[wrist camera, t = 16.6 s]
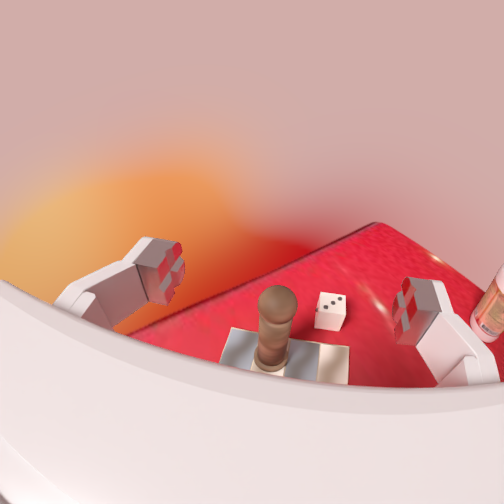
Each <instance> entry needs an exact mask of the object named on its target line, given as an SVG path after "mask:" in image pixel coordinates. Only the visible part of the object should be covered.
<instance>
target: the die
mask: <svg viewBox="0 0 504 504" xmlns="http://www.w3.org/2000/svg"><path fill="white" fill-rule="evenodd" d="M345 316H346V295H339V294H332V293H325V292H321V293H320V296H319V300H318V304H317V308H316V316H315V326H314V328H318V329H325V330H333V331H340V328H341V326H342V323H343V321H344V318H345Z"/></svg>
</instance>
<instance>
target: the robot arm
mask: <svg viewBox="0 0 504 504" xmlns="http://www.w3.org/2000/svg"><path fill="white" fill-rule="evenodd" d="M181 253H182V247H181V244H180V243H179V242H175V241H169V240H163V239H158V238H151V237H142V238H141V239H140V240H139V241H138V243H137V244H136V245H135V246H134V247H133V248H132V250H131V251H130V252H129V253H128V254H127V255H126V256H125V257H124V259H123V260H122V261H116V262H114V263H112V264H110V265H108V266H106V267H103V268H102V269H99V270H97V271H95V272H93V273H91V274H89V275H87V276H85V277H83V278H81V279H79V280H77V281H75V282H73V283H71V284H69V285H68V286H67V287H66V289H65V290H64V291H63V292H62V293H61V295H60V296H59V297H58V298H57V299H56V301H55V302H54V303H53V304H52V305H51V304H49V303H47V302H44V301H42V300H40V299H38V298H37V297H35V296H32V295H31V294H29V293H27V292H25V291H23V290H21V289H19V288H18V287H16V286H14V285H12V284H11V283H9V282H7V281H5V280H0V504H504V382H500V378H499V374H498V369H497V365H496V362H495V358H494V355H493V354H492V352H491V351H490V350H489V349H488V348H487V346H486V345H485V344H484V343H483V342H482V341H481V340H480V338H479V337H478V336H477V335H476V334H475V333H474V332H473V331H472V329H471V328H470V327H469V326H468V325H467V324H466V323H465V322H464V321H463V320H462V319H461V318H460V317H459V315H458V314H454V312H453V309H452V306H451V303H450V300H449V297H448V294H447V292H446V289H445V286H444V284H443V282H441V281H437V280H426V279H419V278H412V277H406V278H405V279H404V280H403V282H402V284H401V287H402V291H400V292H399V293H398V294H397V295H396V297H395V299H394V302H393V307H392V317H393V320H394V321H395V322H396V323H397V325H396V327H395V328H394V331H395V339H396V344H404V345H414V346H416V348H417V350H418V351H419V353H420V354H421V356H422V358H423V359H424V361H425V363H426V364H427V366H428V367H429V369H430V371H431V372H432V374H433V376H434V378H435V379H436V381H437V383H438V385H437V386H436V387H434V388H394V387H371V386H357V385H345V384H335V383H325V382H317V381H309V380H302V379H295V378H289V377H283V376H277V375H271V374H266V373H260V372H255V371H250V370H245V369H241V368H236V367H232V366H227V365H223V364H219V363H215V362H211V361H207V360H203V359H199V358H195V357H192V356H188V355H184V354H181V353H177V352H174V351H171V350H167V349H164V348H161V347H158V346H154V345H151V344H148V343H145V342H142V341H139V340H136V339H134V338H131V337H128V336H125V335H122V334H120V333H117V332H115V331H114V330H113V328H112V327H113V326H115V325H117V324H118V323H119V322H121V321H122V320H124V319H125V318H127V317H128V316H129V315H131V314H132V313H134V312H135V311H137V310H138V309H139V308H141V307H142V306H144V305H145V304H147V303H148V301H149V302H153V303H158V304H162V305H168V304H169V303H170V301H171V299H172V297H173V295H174V294H175V292H174V288H175V287H177V286H179V285H180V283H181V282H182V280H183V277H184V274H185V263H184V260H183V259H182V258H181V257H180V255H181Z"/></svg>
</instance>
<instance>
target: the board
mask: <svg viewBox="0 0 504 504" xmlns="http://www.w3.org/2000/svg"><path fill="white" fill-rule="evenodd" d="M258 335H259V333H258V332H253V331H248V330H243V329H238V328H233V327H232V328H231V331H230V334H229V336H228V339H227V342H226V345H225V348H224V350H223V353H222V356H221V359H220V361H219V364H223V365H227V366H232V367H236V368H241V369H245V370H250V371H255V372H260V373H266V374H271V375H277V376H283V377H289V378H295V379H302V380H309V381H317V382H325V383H335V384H345V385H348V371H349V346H341V345H333V344H326V343H319V342H312V341H305V340H299V339H292V338H289V340H288V345H287V351H288V360H287V363H286V365H285V366H284V368H282V369H281V370H279V371H277V372H266V371H263V370H261V369H260V368H258V367H257V365H256V364H255V362H254V351H255V349H256V347H257V346H258Z"/></svg>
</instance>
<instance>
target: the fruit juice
mask: <svg viewBox="0 0 504 504" xmlns="http://www.w3.org/2000/svg"><path fill="white" fill-rule="evenodd" d="M470 326H471V328H472V331H473V332H474V333H475V334H476V335H477V336H478V337H479V338H480V340H482V341H484V342H486V343H491V342H494V341H495V340H496V339H497V338H498V337H499V336H500V335H501V334H502V332H503V331H504V264H503V265H502V266H501V268H500V269H499V271H498V272H497V274H496V276H495V278H494V279H493V281H492V283H491V285H490V286H489V288H488V290H487V291H486V293H485V294H484V296H483V297H482V299H481V300H480V302H479V303H478V305H477V306H476V308H475V309H474V311H473V312H472V314H471V317H470Z"/></svg>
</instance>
